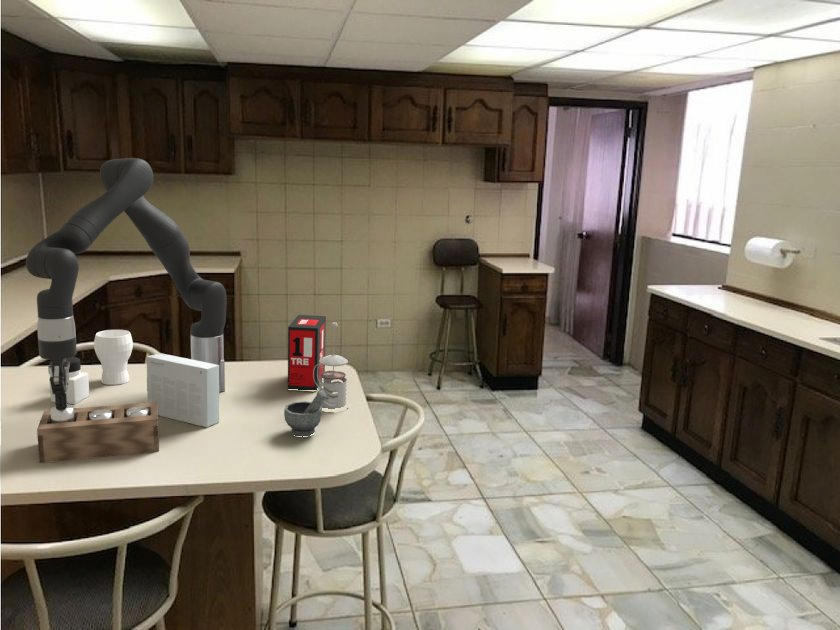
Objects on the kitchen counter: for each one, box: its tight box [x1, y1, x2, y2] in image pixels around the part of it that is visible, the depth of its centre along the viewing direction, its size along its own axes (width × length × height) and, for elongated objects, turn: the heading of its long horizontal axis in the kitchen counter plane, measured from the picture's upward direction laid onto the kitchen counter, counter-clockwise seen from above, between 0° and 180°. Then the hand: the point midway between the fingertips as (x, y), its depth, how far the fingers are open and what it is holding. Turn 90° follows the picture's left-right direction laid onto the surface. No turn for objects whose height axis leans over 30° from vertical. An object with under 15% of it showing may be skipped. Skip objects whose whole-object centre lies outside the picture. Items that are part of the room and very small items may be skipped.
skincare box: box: [146, 352, 220, 428], centre depth 181 cm, size 21×5×16 cm, turn 65°
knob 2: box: [127, 407, 148, 417], centre depth 164 cm, size 5×5×5 cm
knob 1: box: [49, 404, 75, 423], centre depth 158 cm, size 5×5×5 cm
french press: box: [313, 322, 349, 409], centre depth 194 cm, size 10×12×25 cm
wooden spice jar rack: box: [36, 402, 160, 464], centre depth 162 cm, size 25×12×8 cm, turn 111°
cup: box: [93, 329, 134, 386], centre depth 206 cm, size 11×11×15 cm
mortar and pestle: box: [283, 390, 327, 437], centre depth 175 cm, size 11×9×12 cm
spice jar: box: [89, 409, 112, 420], centre depth 161 cm, size 5×5×5 cm
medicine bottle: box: [49, 356, 90, 405], centre depth 190 cm, size 7×7×12 cm
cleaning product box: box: [287, 314, 327, 391], centre depth 214 cm, size 16×9×20 cm, turn 179°
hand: (61, 408), depth 157 cm, fingers closed
